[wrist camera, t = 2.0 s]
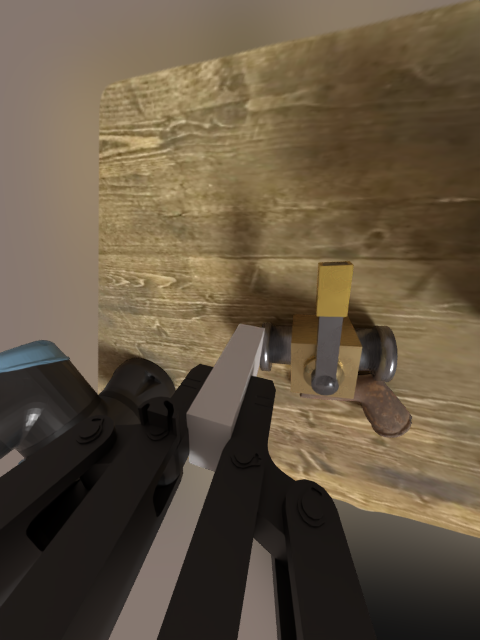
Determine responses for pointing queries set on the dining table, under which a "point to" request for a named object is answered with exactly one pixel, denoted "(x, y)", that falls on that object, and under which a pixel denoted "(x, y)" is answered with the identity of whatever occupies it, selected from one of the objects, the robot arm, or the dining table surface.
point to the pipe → (377, 406)
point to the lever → (330, 322)
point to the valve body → (354, 354)
